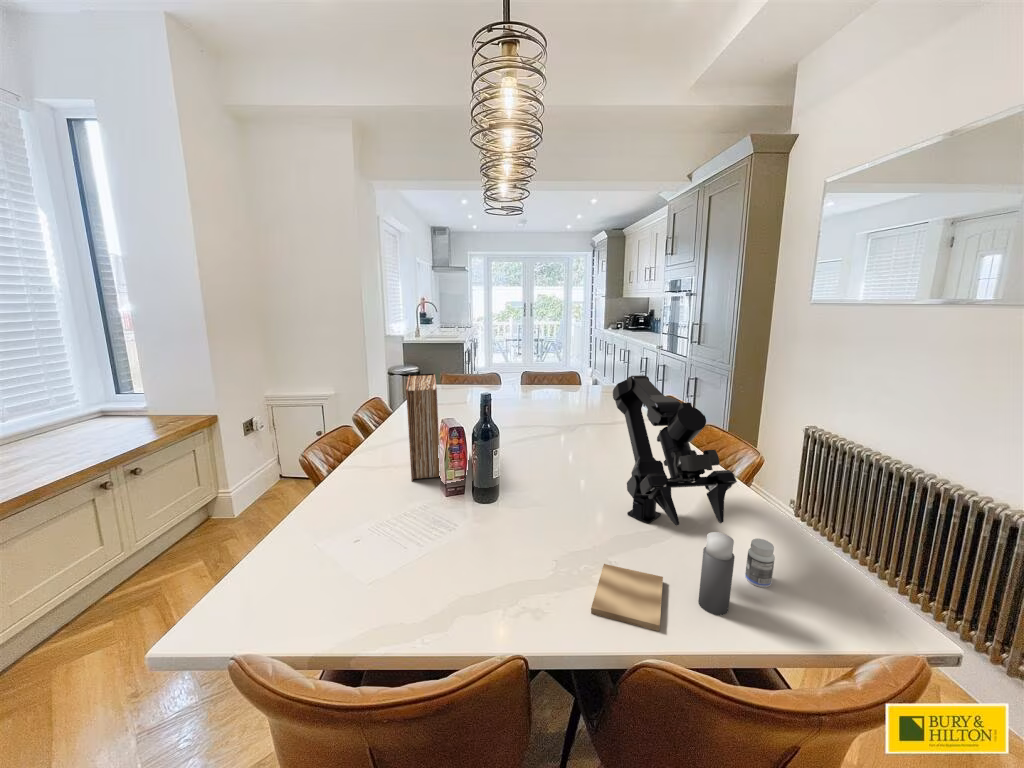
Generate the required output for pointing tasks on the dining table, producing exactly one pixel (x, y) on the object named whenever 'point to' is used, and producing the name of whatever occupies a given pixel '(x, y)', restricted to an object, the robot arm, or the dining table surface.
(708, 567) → the pepper mill
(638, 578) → the serving board
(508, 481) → the dining table surface
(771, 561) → the pill bottle
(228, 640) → the dining table surface
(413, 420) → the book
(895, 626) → the dining table surface
